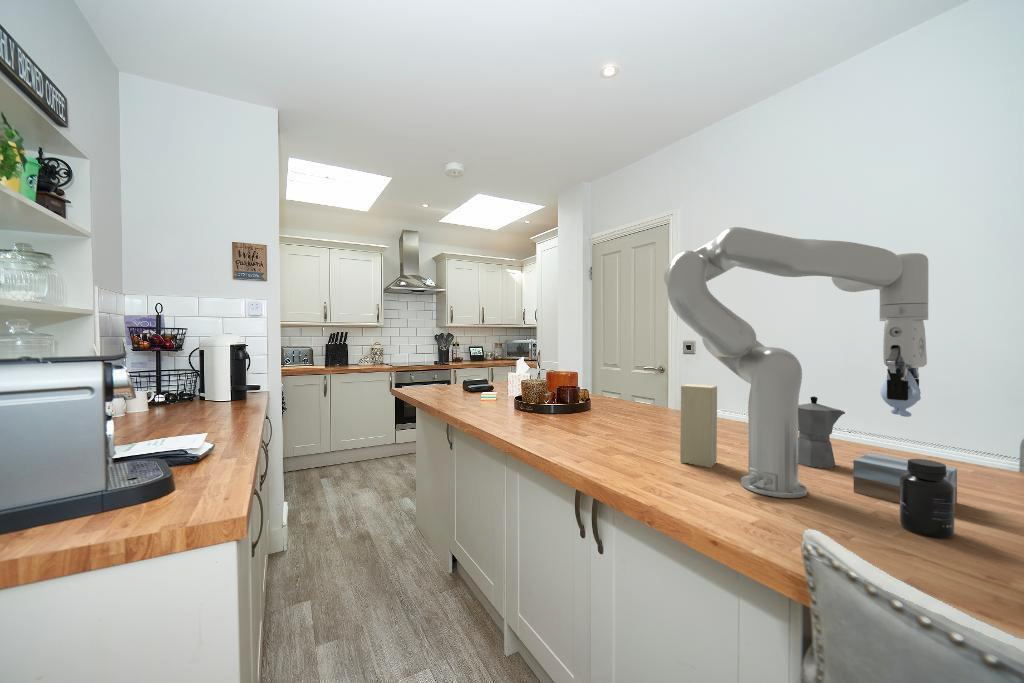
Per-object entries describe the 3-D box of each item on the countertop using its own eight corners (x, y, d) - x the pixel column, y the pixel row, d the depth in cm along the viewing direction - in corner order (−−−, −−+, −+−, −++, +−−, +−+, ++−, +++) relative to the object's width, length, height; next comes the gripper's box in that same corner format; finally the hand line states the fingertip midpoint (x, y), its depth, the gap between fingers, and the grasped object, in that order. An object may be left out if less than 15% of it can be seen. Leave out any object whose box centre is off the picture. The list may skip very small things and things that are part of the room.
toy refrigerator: (718, 461, 115) (718, 385, 114) (711, 468, 109) (711, 387, 109) (687, 456, 120) (687, 383, 119) (680, 462, 114) (679, 385, 114)
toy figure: (937, 420, 83) (938, 360, 83) (902, 420, 84) (902, 360, 84) (897, 410, 94) (898, 357, 93) (866, 410, 95) (866, 357, 94)
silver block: (944, 514, 80) (944, 477, 80) (853, 492, 91) (853, 460, 91) (956, 502, 85) (956, 468, 85) (870, 483, 97) (869, 453, 97)
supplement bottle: (889, 522, 76) (888, 457, 76) (923, 521, 77) (923, 456, 77) (929, 541, 69) (929, 468, 69) (966, 539, 70) (966, 467, 70)
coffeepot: (847, 464, 111) (847, 397, 111) (842, 472, 104) (842, 401, 104) (780, 453, 122) (780, 392, 122) (771, 460, 116) (771, 395, 115)
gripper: (915, 311, 80) (914, 404, 80) (939, 313, 90) (939, 397, 90) (865, 313, 86) (865, 399, 87) (893, 315, 96) (893, 393, 96)
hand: (903, 397), depth 88 cm, fingers closed on toy figure, 6 cm apart
